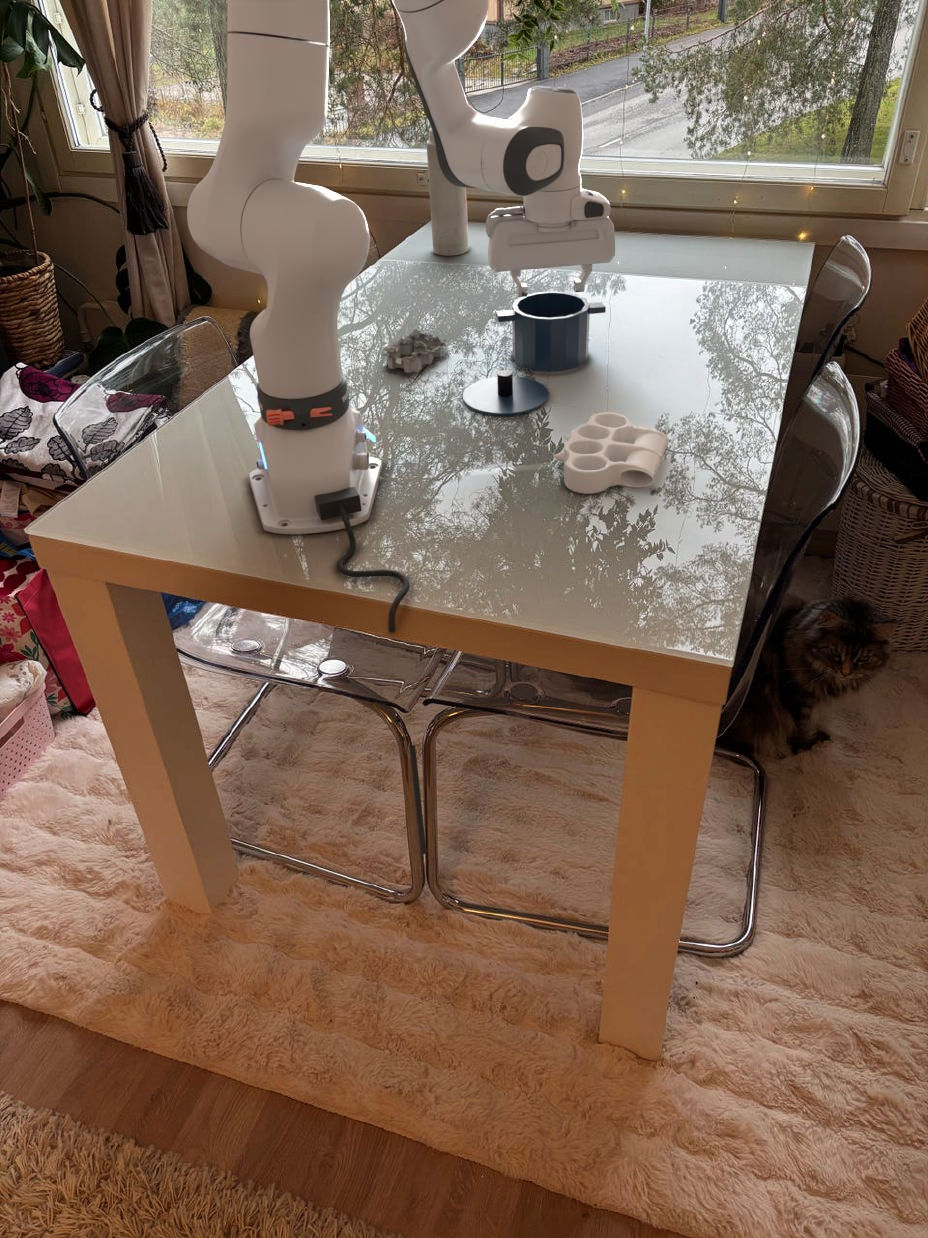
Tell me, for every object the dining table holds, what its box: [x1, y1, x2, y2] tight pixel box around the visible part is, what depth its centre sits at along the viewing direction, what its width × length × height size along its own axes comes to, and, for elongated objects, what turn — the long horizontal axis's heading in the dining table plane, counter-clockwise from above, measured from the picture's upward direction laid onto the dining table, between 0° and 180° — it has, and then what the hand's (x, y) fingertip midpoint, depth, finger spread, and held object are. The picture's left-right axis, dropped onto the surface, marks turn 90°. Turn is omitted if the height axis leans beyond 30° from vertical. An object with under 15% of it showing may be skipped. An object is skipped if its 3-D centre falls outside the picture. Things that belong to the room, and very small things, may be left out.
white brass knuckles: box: [552, 411, 670, 495], centre depth 130 cm, size 3×18×15 cm
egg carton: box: [381, 329, 448, 374], centre depth 160 cm, size 11×8×4 cm
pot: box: [495, 290, 607, 373], centre depth 157 cm, size 13×18×10 cm
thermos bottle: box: [425, 127, 470, 256], centre depth 200 cm, size 8×8×28 cm
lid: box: [462, 369, 549, 417], centre depth 147 cm, size 14×14×5 cm
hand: (550, 293), depth 152 cm, fingers open, 8 cm apart
